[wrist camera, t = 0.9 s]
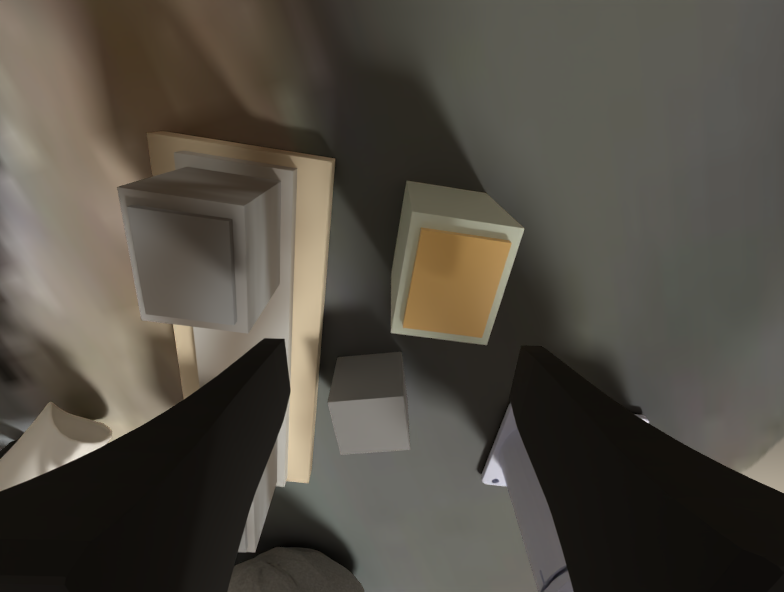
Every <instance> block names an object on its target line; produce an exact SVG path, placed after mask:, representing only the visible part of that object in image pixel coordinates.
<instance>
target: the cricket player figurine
mask: <svg viewBox="0 0 784 592" xmlns="http://www.w3.org/2000/svg"><path fill="white" fill-rule="evenodd" d="M111 437H112V430H111V429H110V428H109V427H108V426H106V425H105V424H103V423H100V422H96V421H93V420H90V419H87V418H83V417H80V416H76V415H73V414H70V413H67V412H65V411H64V410H62V409H60V408H59V407H58V406H56V405H55V404H54V403H53V402H49V403H48V404H47V405H46V406H45V408H44V409H43V411H42V412H41V413H40V414H39V416H38V417H37V418H36V419H35V421H34V422H33V423H32V424H31V425H30V427H29V428H28V429H27V430H26V431H25V432H24V434H23V435H22V436H21V437H20V439H18V440H15V441H12V442H10V443H9V444H8V445H7V446H6V447H5V448H3V449H2V450H1V451H0V491H2V490H5V489H7V488H10V487H13V486H15V485H18V484H20V483H23V482H25V481H28V480H30V479H32V478H35V477H37V476H40V475H42V474H44V473H47V472H49V471H51V470H53V469H56V468H58V467H60V466H62V465H65V464H67V463H69V462H71V461H73V460H75V459H78V458H80V457H82V456H84V455H86V454H88V453H90V452H92V451H94V450H96V449H98V448H100V447H102V446H104V445H106V444H107V442H108V441H109V440H110V438H111Z"/></svg>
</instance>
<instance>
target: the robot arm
mask: <svg viewBox="0 0 784 592" xmlns="http://www.w3.org/2000/svg"><path fill="white" fill-rule="evenodd" d="M290 393H291V388H290V380H289V372H288V363H287V355H286V347H285V339H276V338H264V339H263V340H261V341H260V342H259V343H257V344H256V345H255V346H254V347H252V348H251V349H250V350H249V351H248V352H246V353H245V354H244V355H243V356H241V357H240V358H239V359H238V360H236V361H235V362H234V363H233V364H231V365H230V366H229V367H228V368H226V369H225V370H224V371H222V372H221V373H220V374H219V375H217V376H216V377H215V378H213V379H212V380H211V381H209V382H208V383H206V384H205V385H204V386H202V387H201V388H199V389H198V390H197V391H195V392H194V393H192V394H191V395H190V396H188V397H187V398H186V399H184V400H183V401H181V402H180V403H178V404H176V405H175V406H173V407H172V408H170V409H169V410H167V411H165V412H164V413H162V414H160V415H159V416H157V417H155V418H154V419H152V420H151V421H149V422H147V423H145V424H144V425H142V426H140V427H138V428H136V429H135V430H133V431H131V432H129V433H127V434H125V435H123V436H121V437H119V438H118V439H116V440H114V441H112V442H110V443H108V444H106V445H104V446H102V447H100V448H98V449H96V450H94V451H92V452H90V453H88V454H86V455H84V456H82V457H80V458H78V459H75V460H73V461H71V462H69V463H67V464H65V465H62V466H60V467H58V468H56V469H53V470H51V471H49V472H47V473H44V474H42V475H40V476H37V477H35V478H32V479H30V480H28V481H25V482H23V483H20V484H18V485H15V486H13V487H10V488H7V489H5V490H2V491H0V592H227V591H228V587H229V583H230V580H231V576H232V572H233V568H234V565H235V561H236V557H237V553H238V550H239V546H240V542H241V539H242V535H243V532H244V528H245V525H246V521H247V518H248V514H249V511H250V507H251V505H252V502H253V499H254V496H255V493H256V490H257V488H258V485H259V483H260V480H261V478H262V475H263V472H264V470H265V467H266V465H267V462H268V460H269V457H270V455H271V452H272V450H273V447H274V445H275V442H276V439H277V437H278V434H279V432H280V429H281V426H282V424H283V421H284V417H285V413H286V409H287V405H288V401H289V397H290ZM509 398H510V402H511V403H510V404H509V406H508V408H507V411H506V414H505V416H504V419H503V421H502V424H501V426H500V429H499V431H498V434H497V436H496V439H495V442H494V444H493V447H492V449H491V452H490V454H489V457H488V459H487V462H486V465H485V467H484V470H483V472H482V475H481V479H482V482H483V483H484V484H489V485H498V486H507V488H508V492H509V495H510V498H511V502H512V505H513V508H514V512H515V515H516V518H517V522H518V525H519V528H520V532H521V535H522V539H523V542H524V545H525V549H526V552H527V555H528V559H529V562H530V565H531V569H532V572H533V575H534V579H535V582H536V585H537V589H538V592H784V493H782V492H780V491H777V490H775V489H773V488H771V487H769V486H766V485H764V484H762V483H760V482H757V481H755V480H753V479H751V478H749V477H747V476H745V475H743V474H741V473H738V472H736V471H734V470H732V469H730V468H728V467H726V466H724V465H722V464H720V463H718V462H716V461H714V460H713V459H711V458H709V457H707V456H705V455H703V454H701V453H699V452H697V451H695V450H693V449H692V448H690V447H688V446H686V445H684V444H683V443H681V442H679V441H677V440H675V439H674V438H672V437H670V436H669V435H667V434H665V433H664V432H662V431H660V430H659V429H657V428H655V427H654V426H652V425H650V424H649V420H648V419H647V418H646V417H645V416H644V415H638V414H633V413H632V412H630V411H629V410H627V409H626V408H624V407H623V406H621V405H620V404H618V403H617V402H615V401H614V400H613V399H611V398H610V397H608V396H607V395H606V394H604V393H603V392H601V391H600V390H599V389H597V388H596V387H595V386H593V385H592V384H591V383H589V382H588V381H587V380H585V379H584V378H583V377H582V376H580V375H579V374H578V373H576V372H575V371H574V370H572V369H571V368H570V367H569V366H567V365H566V364H565V363H563V362H562V361H561V360H560V359H558V358H557V357H556V356H554V355H553V354H552V353H550V352H549V351H548V350H546V349H545V348H543V347H542V346H521V349H520V354H519V358H518V362H517V367H516V371H515V375H514V379H513V384H512V388H511V392H510V397H509Z"/></svg>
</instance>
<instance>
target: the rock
mask: <svg viewBox="0 0 784 592" xmlns="http://www.w3.org/2000/svg"><path fill="white" fill-rule="evenodd" d="M227 592H364V589H363V587H362V585H361V583H360V582H359V581H358V580H357V579H356V577H355V576H354V575H353V574H352V573H351V572H350V571H349V570H348V569H346V568H345V567H343V566H342V565H340V564H338V563H337V562H335V561H333V560H332V559H330V558H329V557H327V556H326V555H324V554H323V553H321V552H320V551H317V550H313V549H309V548H299V547H289V548H285V547H275V548H273V549H271V550H269V551H266V552H264V553H261V554H259V555H257V556H256V557H255V558H253V559H250V560H247V561H245V562H242V563H240V564H237V565H236V566H234V568H233V572H232V576H231V580H230V583H229V587H228V591H227Z"/></svg>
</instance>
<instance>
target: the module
mask: <svg viewBox="0 0 784 592" xmlns="http://www.w3.org/2000/svg"><path fill="white" fill-rule="evenodd" d="M523 232H524V228H523V227H522V226H521V225H520V224H519V223H518V222H517V221H516V220H515V219H514V218H513V217H512V216H510V215H509V214H508V213H507V212H506V211H505V210H504V209H503V208H502V207H501V206H500V205H499V204H498V203H496V202H495V201H494V200H493V199H492V198H491V197H490V196H489V195H488V194H487V193H483V192H476V191H470V190H464V189H457V188H451V187H445V186H438V185H432V184H425V183H419V182H413V181H406V187H405V193H404V199H403V205H402V211H401V217H400V223H399V229H398V235H397V242H396V248H395V254H394V260H393V266H392V272H391V333H395V334H403V335H411V336H419V337H427V338H434V339H442V340H450V341H458V342H465V343H473V344H481V345H487V343H488V340H489V337H490V334H491V331H492V328H493V324H494V321H495V318H496V315H497V312H498V309H499V306H500V303H501V300H502V297H503V294H504V290H505V287H506V284H507V281H508V278H509V275H510V272H511V269H512V266H513V263H514V260H515V257H516V253H517V250H518V247H519V244H520V241H521V238H522V235H523Z"/></svg>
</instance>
